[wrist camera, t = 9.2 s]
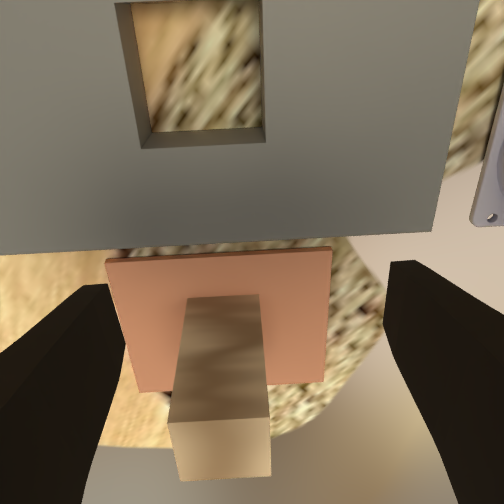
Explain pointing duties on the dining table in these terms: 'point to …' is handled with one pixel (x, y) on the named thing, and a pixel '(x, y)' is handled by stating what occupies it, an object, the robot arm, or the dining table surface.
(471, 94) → the dining table surface
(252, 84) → the dining table surface
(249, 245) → the dining table surface
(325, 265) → the mat
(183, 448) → the peg
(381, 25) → the pocket plate
